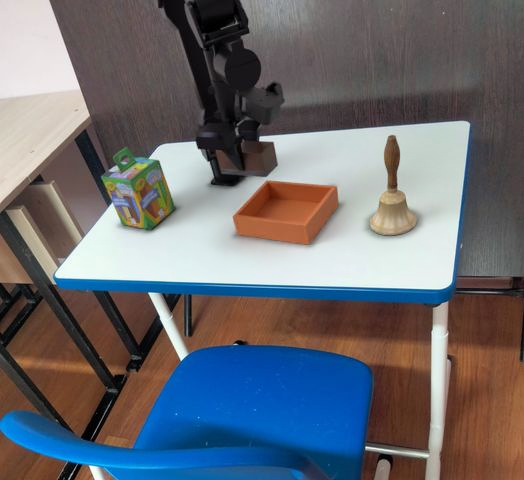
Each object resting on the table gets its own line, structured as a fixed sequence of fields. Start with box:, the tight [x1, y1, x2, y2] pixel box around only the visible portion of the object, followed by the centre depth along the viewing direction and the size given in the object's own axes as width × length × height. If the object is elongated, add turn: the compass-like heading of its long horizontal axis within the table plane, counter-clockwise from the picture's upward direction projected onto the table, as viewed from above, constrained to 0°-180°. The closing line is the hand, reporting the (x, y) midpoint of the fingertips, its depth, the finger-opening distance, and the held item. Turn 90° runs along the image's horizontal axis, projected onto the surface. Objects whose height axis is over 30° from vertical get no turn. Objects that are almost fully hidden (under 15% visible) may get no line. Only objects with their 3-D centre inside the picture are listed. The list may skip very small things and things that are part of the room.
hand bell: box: [369, 134, 418, 236], centre depth 90 cm, size 8×8×16 cm
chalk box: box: [100, 146, 177, 231], centre depth 110 cm, size 9×9×15 cm
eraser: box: [216, 140, 279, 178], centre depth 97 cm, size 10×4×4 cm, turn 60°
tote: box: [232, 180, 340, 246], centre depth 101 cm, size 16×14×4 cm
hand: (248, 164), depth 98 cm, fingers closed on eraser, 4 cm apart
